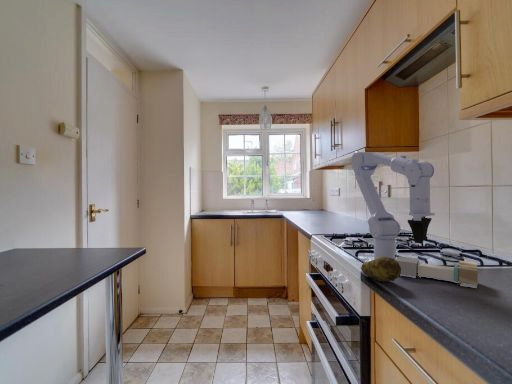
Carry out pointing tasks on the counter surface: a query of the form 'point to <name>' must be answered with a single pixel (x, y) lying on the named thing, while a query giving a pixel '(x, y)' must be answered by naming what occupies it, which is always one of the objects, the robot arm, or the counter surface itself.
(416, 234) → the robot arm
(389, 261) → the potato
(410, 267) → the sleeve
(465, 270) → the tan rectangular block
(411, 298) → the counter surface
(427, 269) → the white bar teal band
